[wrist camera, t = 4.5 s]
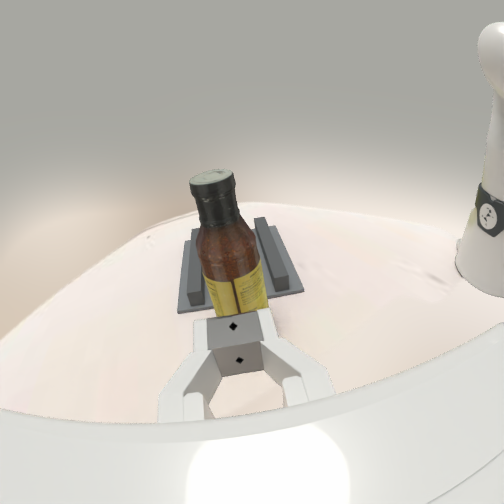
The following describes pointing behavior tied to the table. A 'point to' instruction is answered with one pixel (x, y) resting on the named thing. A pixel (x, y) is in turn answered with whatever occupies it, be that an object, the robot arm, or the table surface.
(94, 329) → the table surface
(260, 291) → the sauce bottle
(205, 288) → the holder
